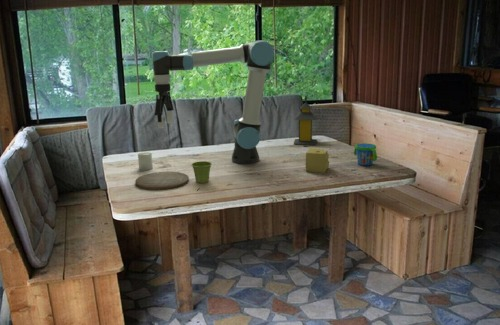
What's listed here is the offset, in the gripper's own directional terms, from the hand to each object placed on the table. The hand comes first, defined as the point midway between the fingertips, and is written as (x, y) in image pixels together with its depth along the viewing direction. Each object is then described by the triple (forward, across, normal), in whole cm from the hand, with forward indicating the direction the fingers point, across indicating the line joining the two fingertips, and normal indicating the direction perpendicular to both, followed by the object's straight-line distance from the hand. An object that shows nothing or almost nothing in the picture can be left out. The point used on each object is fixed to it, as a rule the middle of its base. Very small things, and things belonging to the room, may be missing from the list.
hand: (165, 125), depth 238 cm
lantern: (+24, -71, +66) cm, 100 cm away
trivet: (+24, +19, +3) cm, 31 cm away
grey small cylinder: (+23, -2, -13) cm, 27 cm away
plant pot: (+24, +16, +22) cm, 37 cm away
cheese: (+24, -9, +76) cm, 80 cm away
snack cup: (+24, -22, +100) cm, 105 cm away
